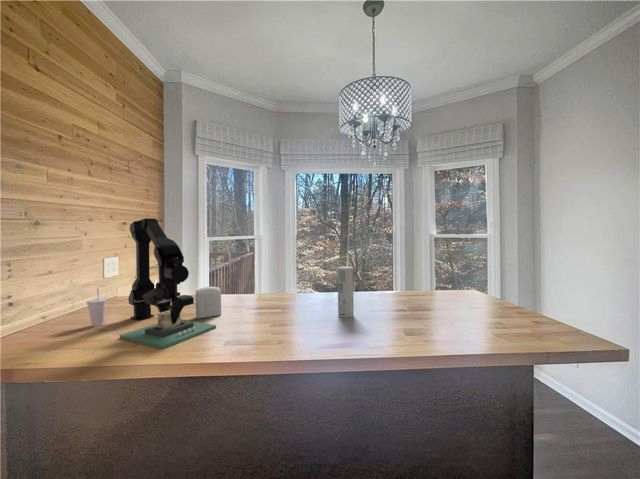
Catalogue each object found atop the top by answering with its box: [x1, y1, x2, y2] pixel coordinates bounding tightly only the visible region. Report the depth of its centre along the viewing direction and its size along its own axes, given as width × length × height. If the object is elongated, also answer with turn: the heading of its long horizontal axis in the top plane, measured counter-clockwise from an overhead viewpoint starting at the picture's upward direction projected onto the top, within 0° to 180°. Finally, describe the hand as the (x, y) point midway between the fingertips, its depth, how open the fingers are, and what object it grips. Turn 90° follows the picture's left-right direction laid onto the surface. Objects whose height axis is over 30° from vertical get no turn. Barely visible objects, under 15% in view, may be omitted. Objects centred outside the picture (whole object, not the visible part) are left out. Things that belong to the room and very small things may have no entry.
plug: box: [157, 310, 181, 329], centre depth 114 cm, size 4×7×5 cm, turn 153°
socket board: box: [119, 318, 217, 350], centre depth 114 cm, size 22×22×2 cm
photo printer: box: [195, 286, 222, 320], centre depth 134 cm, size 10×4×12 cm, turn 123°
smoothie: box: [86, 288, 108, 328], centre depth 123 cm, size 6×6×14 cm
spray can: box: [337, 265, 355, 319], centre depth 132 cm, size 6×6×20 cm
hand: (169, 323), depth 114 cm, fingers closed on plug, 4 cm apart
